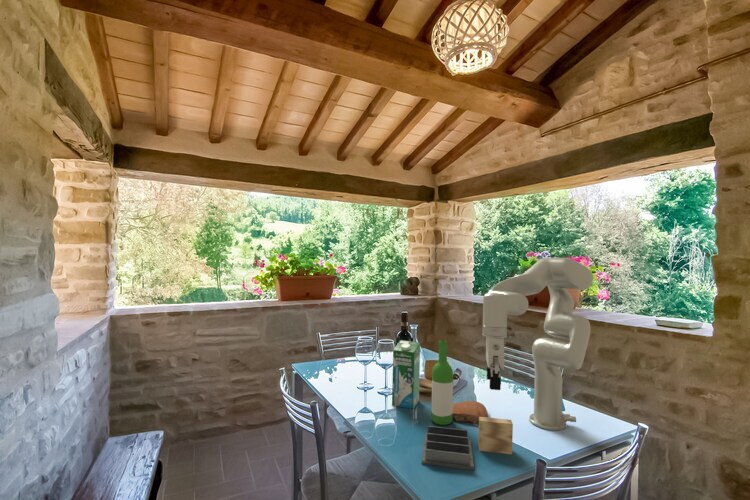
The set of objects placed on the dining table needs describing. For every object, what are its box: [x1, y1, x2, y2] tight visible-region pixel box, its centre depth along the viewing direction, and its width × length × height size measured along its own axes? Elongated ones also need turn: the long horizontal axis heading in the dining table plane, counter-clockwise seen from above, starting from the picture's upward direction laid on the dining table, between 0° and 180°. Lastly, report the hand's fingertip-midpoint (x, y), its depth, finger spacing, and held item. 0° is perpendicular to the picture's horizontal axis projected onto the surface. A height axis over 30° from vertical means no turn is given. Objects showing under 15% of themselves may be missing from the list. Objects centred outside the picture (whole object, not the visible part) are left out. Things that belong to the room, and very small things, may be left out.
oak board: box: [477, 416, 514, 455], centre depth 121 cm, size 10×3×10 cm, turn 79°
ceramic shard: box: [452, 400, 489, 425], centre depth 146 cm, size 15×6×15 cm
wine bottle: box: [430, 339, 454, 426], centre depth 141 cm, size 8×8×30 cm
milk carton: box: [391, 339, 421, 410], centre depth 157 cm, size 9×9×25 cm
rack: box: [421, 425, 475, 471], centre depth 119 cm, size 15×17×4 cm
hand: (493, 384), depth 122 cm, fingers open, 9 cm apart
